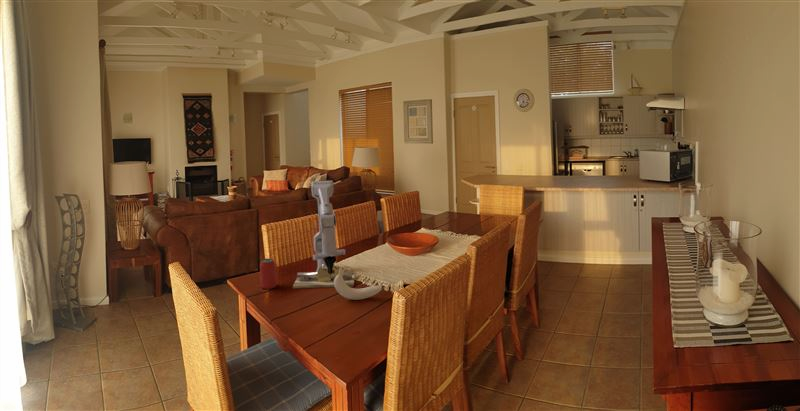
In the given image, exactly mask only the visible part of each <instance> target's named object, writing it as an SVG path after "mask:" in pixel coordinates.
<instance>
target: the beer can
mask: <svg viewBox="0 0 800 411" xmlns="http://www.w3.org/2000/svg"><path fill="white" fill-rule="evenodd" d="M276 269H277V268H276V263H275V260H274V258H262V259H261V260H260V263H259V273H260V274H259V275H260V278H259V279H260V285H261V286H260V287H261V288H262V289H264V290H265V289H267V290H270V289H273V288H275V287H276V286H277V284H278V283H277V270H276Z"/></svg>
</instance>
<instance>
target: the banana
mask: <svg viewBox="0 0 800 411" xmlns="http://www.w3.org/2000/svg"><path fill="white" fill-rule="evenodd" d="M338 270H339V274H338V275H337V276H336V277H335V279H334V286H335V287H334V289H335V290H336V291H337V293H338V294H339V295H340V296H342V297H343V298H345V299H348V300H354V301H359V300H364V299H365V300H366V299H367V298H368V299H369V298H370V297H374V296H375V295H377V294H378V293H380V292H381V291H382V289H383V287H382V286H380V285H369V286H367V287H363V288H354V287H349V286H347V285H346V283H345V282H344V280H343V276H342V274H343V272H344V271H345V270H344V269H343V268H342V267H341V266H340V267H339V268H338Z"/></svg>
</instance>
